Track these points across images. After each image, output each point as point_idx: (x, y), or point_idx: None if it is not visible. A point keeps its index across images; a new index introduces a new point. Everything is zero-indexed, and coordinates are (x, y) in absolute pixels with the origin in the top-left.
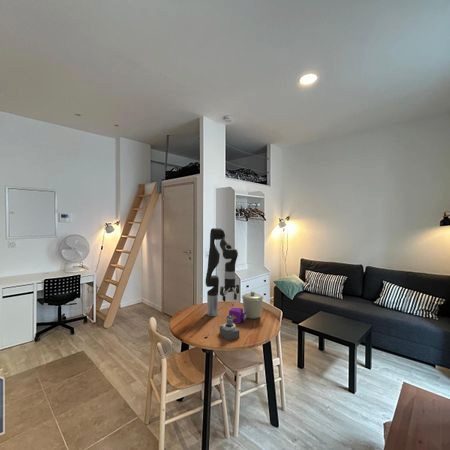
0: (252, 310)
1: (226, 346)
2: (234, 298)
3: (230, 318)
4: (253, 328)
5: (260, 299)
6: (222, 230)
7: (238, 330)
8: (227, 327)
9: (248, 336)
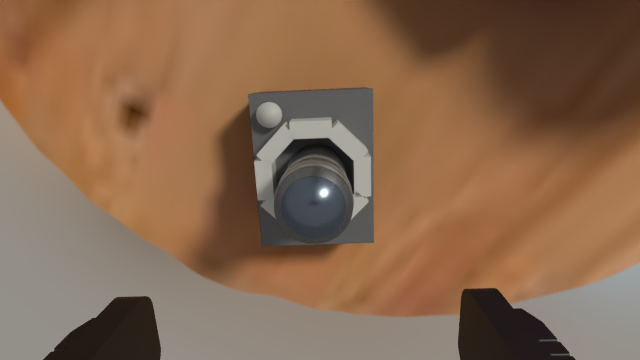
0: None
1: (230, 285)
2: (472, 337)
3: (304, 240)
4: (561, 132)
5: None
6: None
7: (364, 242)
8: (274, 214)
9: (436, 232)
